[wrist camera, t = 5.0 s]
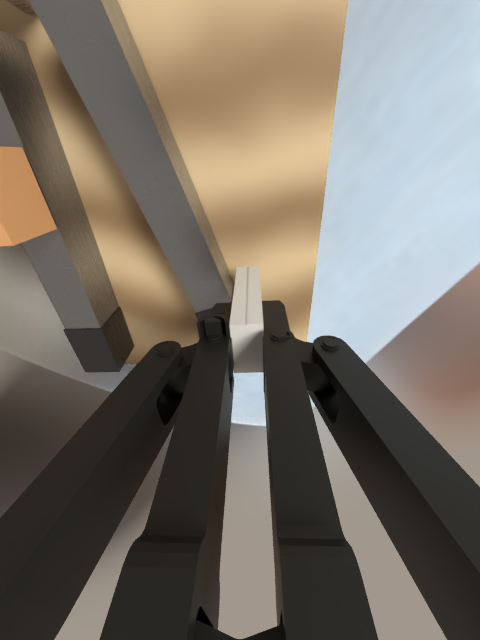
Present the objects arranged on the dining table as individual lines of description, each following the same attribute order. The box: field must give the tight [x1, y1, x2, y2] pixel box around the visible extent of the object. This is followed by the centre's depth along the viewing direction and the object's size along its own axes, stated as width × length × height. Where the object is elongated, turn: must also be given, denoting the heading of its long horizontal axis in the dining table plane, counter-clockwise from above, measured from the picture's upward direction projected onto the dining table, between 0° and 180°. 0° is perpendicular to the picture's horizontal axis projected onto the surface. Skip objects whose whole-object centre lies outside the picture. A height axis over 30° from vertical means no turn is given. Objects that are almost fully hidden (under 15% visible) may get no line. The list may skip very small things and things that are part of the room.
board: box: [0, 0, 348, 364], centre depth 17 cm, size 25×20×1 cm
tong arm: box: [29, 0, 235, 320], centre depth 15 cm, size 18×3×3 cm, turn 20°
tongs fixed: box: [0, 0, 134, 372], centre depth 14 cm, size 22×5×4 cm, turn 3°
